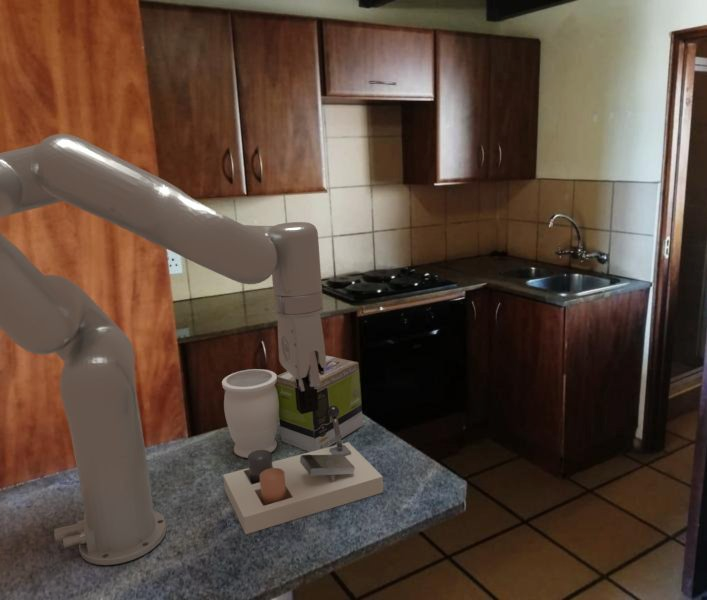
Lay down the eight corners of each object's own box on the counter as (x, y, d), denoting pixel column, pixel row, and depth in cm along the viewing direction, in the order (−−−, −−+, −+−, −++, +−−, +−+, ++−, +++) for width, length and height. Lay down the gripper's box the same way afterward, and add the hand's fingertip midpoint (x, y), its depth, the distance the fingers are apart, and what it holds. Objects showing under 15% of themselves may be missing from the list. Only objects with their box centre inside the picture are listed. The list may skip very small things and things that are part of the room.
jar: (267, 431, 124) (261, 364, 120) (291, 449, 116) (286, 378, 112) (220, 447, 118) (212, 377, 114) (242, 467, 110) (235, 393, 106)
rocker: (310, 475, 96) (311, 467, 96) (299, 461, 100) (301, 454, 100) (353, 473, 100) (355, 466, 99) (341, 460, 104) (343, 453, 104)
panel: (245, 534, 90) (243, 510, 89) (224, 490, 103) (222, 468, 102) (383, 492, 100) (382, 469, 99) (349, 456, 112) (348, 436, 111)
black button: (253, 487, 99) (251, 463, 98) (247, 476, 103) (245, 453, 102) (276, 481, 101) (274, 457, 100) (269, 470, 104) (267, 447, 103)
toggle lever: (337, 451, 106) (329, 407, 106) (332, 450, 108) (324, 406, 108) (348, 448, 107) (340, 404, 107) (343, 447, 109) (335, 404, 109)
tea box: (328, 415, 130) (325, 352, 127) (363, 427, 124) (361, 361, 120) (279, 442, 119) (274, 374, 116) (315, 456, 113) (311, 384, 109)
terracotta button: (265, 509, 93) (263, 483, 92) (258, 496, 97) (256, 472, 96) (289, 502, 95) (287, 477, 94) (281, 489, 98) (279, 465, 97)
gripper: (261, 296, 97) (272, 399, 101) (291, 317, 83) (302, 434, 88) (304, 289, 100) (312, 390, 104) (340, 308, 86) (347, 422, 91)
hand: (307, 410), depth 96 cm, fingers closed
